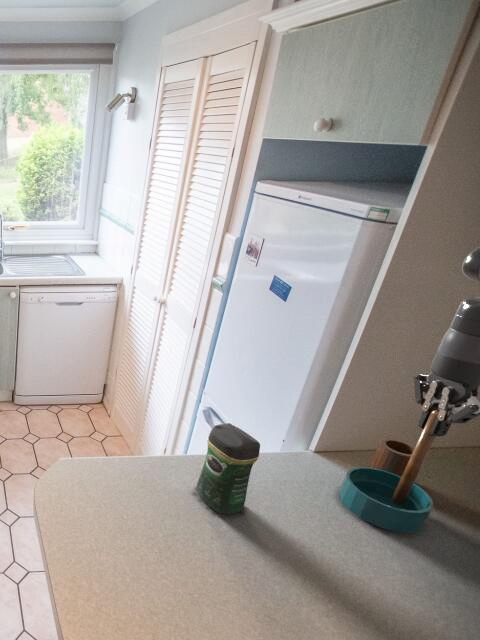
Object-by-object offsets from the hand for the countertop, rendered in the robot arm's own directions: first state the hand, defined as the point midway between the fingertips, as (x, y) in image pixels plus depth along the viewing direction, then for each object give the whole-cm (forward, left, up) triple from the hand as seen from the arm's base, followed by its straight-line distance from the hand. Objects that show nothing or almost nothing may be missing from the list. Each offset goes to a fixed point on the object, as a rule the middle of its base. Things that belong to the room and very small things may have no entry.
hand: (430, 431), depth 91 cm
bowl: (+2, -1, -21) cm, 21 cm away
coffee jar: (+36, -2, -21) cm, 42 cm away
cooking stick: (0, 0, -19) cm, 19 cm away
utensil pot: (-8, -12, -21) cm, 25 cm away
